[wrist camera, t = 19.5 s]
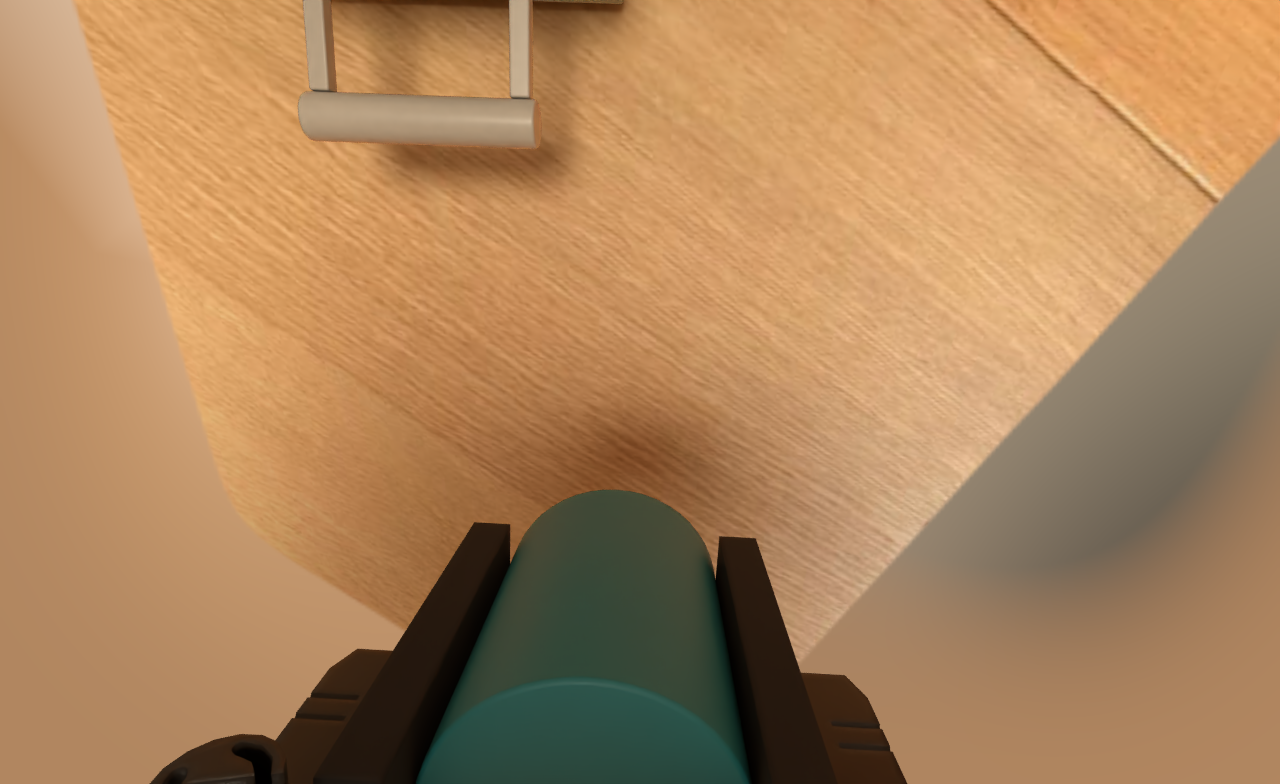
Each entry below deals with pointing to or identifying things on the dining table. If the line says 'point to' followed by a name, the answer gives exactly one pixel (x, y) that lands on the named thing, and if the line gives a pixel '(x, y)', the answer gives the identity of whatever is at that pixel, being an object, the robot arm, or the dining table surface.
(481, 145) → the drawer
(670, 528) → the teal cylinder
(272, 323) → the dining table surface
